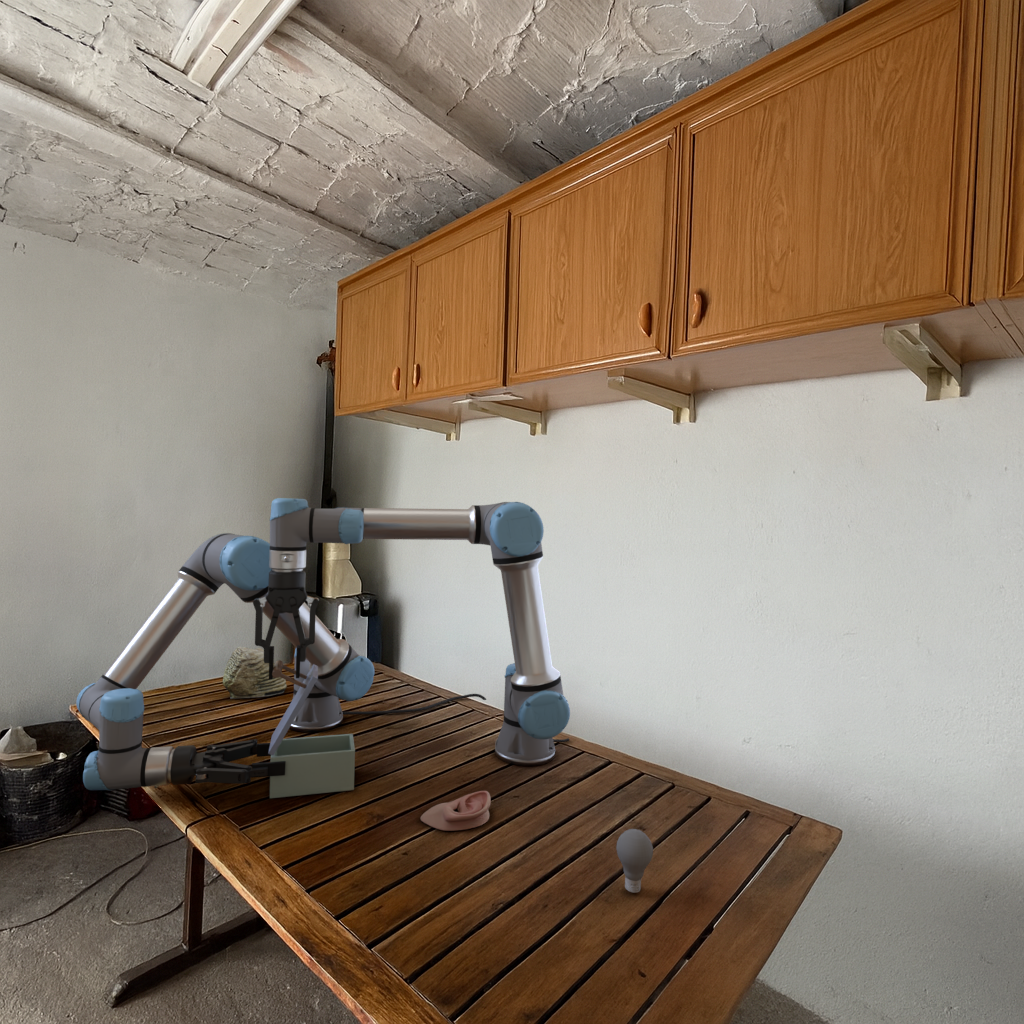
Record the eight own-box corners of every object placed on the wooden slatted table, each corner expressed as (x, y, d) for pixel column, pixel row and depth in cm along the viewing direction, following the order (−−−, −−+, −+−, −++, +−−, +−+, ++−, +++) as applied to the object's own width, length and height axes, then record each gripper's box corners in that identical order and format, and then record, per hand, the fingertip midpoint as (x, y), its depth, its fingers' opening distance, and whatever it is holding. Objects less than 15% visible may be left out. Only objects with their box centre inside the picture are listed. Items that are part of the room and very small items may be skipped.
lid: (318, 665, 144) (282, 649, 141) (317, 678, 134) (279, 660, 132) (276, 737, 142) (239, 721, 139) (273, 755, 132) (233, 739, 130)
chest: (351, 770, 147) (352, 733, 146) (354, 790, 137) (355, 750, 137) (273, 777, 142) (274, 739, 142) (269, 798, 132) (270, 757, 132)
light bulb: (610, 879, 108) (613, 822, 108) (644, 879, 109) (647, 822, 109) (619, 902, 102) (622, 840, 102) (655, 901, 103) (658, 840, 103)
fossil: (218, 695, 195) (220, 647, 195) (278, 685, 208) (279, 640, 207) (228, 703, 189) (230, 653, 188) (289, 692, 201) (290, 645, 201)
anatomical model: (415, 806, 123) (434, 781, 134) (414, 826, 123) (433, 799, 134) (481, 816, 120) (495, 789, 132) (480, 836, 120) (494, 808, 132)
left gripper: (183, 761, 142) (288, 754, 149) (158, 809, 120) (282, 798, 127) (185, 728, 142) (289, 722, 148) (160, 770, 120) (284, 761, 127)
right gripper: (240, 571, 130) (237, 684, 131) (330, 571, 135) (327, 679, 136) (244, 567, 138) (242, 674, 138) (330, 567, 143) (327, 670, 143)
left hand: (286, 757), depth 138 cm, fingers closed on chest, 10 cm apart
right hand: (284, 676), depth 137 cm, fingers open, 5 cm apart
